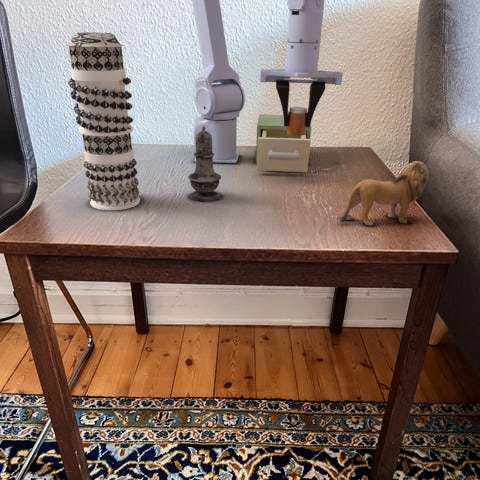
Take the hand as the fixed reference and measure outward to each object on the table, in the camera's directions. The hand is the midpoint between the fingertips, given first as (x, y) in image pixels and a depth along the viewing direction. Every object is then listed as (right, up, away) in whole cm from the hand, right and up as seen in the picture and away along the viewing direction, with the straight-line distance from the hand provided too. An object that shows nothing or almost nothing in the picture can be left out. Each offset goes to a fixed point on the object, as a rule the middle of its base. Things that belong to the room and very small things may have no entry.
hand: (296, 125), depth 88 cm
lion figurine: (+12, -20, -12) cm, 27 cm away
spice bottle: (0, -1, +1) cm, 1 cm away
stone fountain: (-17, -15, -4) cm, 23 cm away
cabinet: (-1, +2, +21) cm, 22 cm away
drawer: (-2, -4, +11) cm, 12 cm away
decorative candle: (-32, -16, -7) cm, 37 cm away
